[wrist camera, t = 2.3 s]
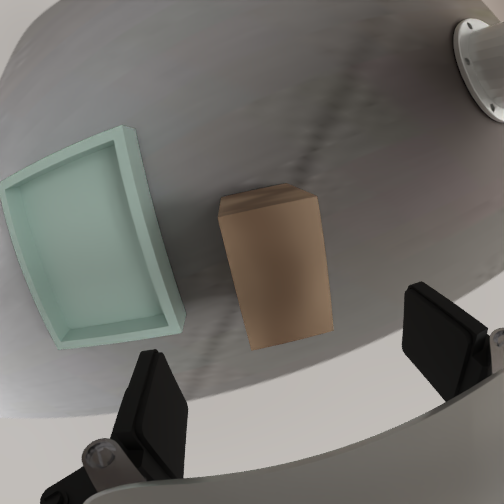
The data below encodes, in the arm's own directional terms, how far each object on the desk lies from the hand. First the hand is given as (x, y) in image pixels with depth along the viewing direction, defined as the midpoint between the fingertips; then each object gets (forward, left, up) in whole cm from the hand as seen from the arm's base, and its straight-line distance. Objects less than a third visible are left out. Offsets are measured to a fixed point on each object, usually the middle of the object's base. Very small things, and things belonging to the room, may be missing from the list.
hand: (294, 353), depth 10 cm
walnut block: (-1, 0, -14) cm, 14 cm away
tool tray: (+13, -3, -14) cm, 19 cm away
